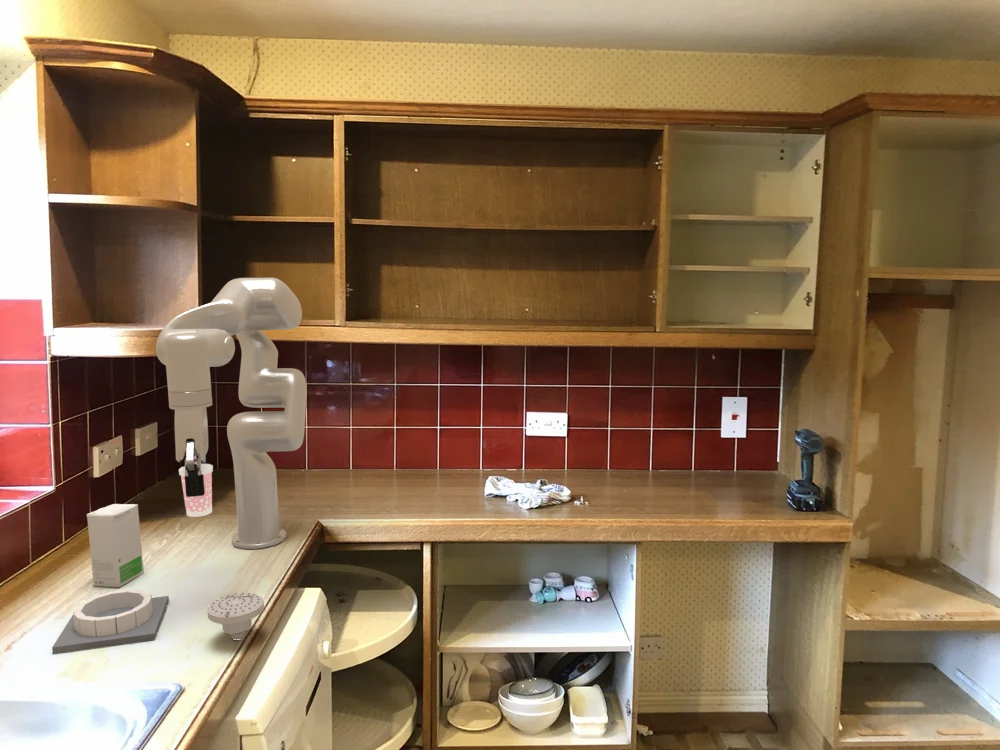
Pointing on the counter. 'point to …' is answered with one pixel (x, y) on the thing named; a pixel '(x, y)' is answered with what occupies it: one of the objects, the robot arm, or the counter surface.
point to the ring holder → (112, 621)
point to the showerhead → (235, 612)
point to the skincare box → (115, 545)
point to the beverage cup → (199, 503)
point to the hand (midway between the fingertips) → (197, 489)
